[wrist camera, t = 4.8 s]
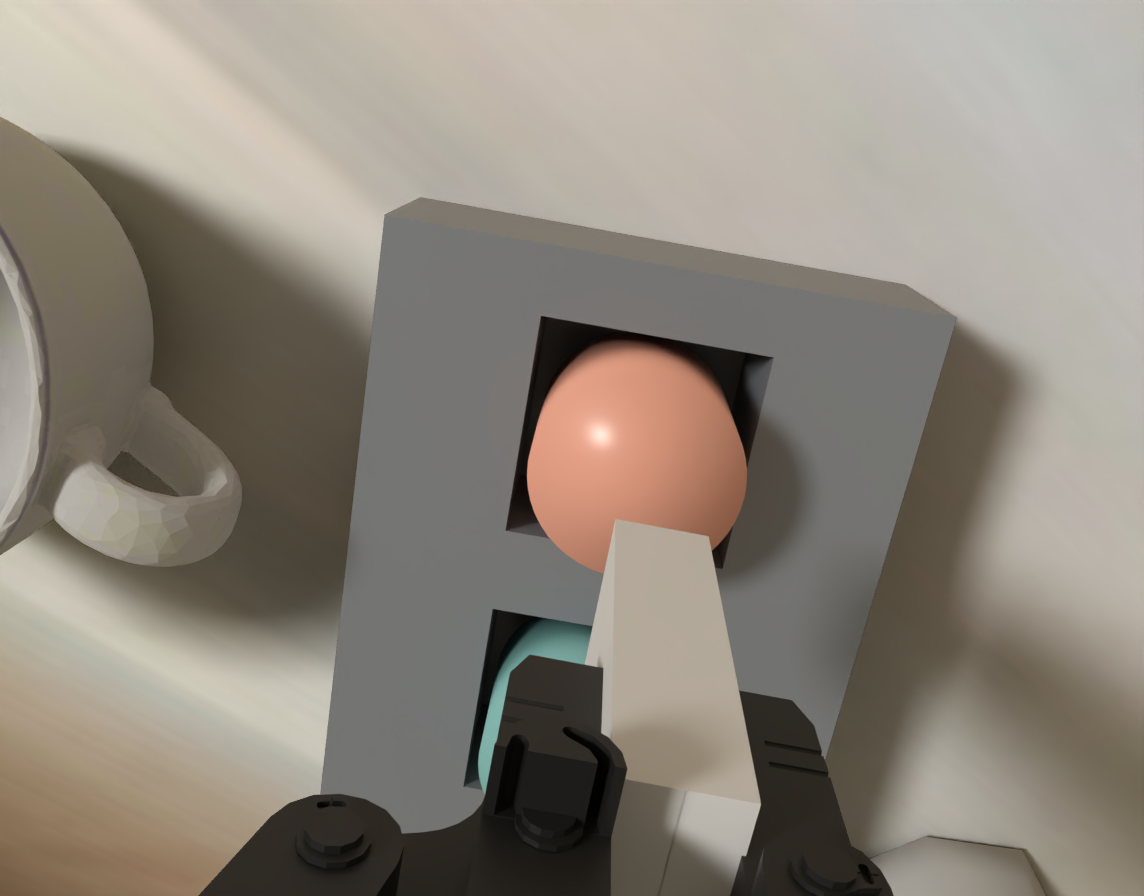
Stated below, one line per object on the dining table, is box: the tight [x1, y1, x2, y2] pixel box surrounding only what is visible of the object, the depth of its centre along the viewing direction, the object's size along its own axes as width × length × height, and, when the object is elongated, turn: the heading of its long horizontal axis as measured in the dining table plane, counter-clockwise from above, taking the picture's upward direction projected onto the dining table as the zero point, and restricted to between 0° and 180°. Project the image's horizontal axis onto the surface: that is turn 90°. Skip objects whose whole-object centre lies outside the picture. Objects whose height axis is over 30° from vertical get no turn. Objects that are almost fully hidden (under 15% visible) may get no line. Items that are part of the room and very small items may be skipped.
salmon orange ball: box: [527, 332, 747, 574], centre depth 22 cm, size 4×4×4 cm
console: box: [320, 197, 957, 834], centre depth 27 cm, size 12×22×4 cm, turn 170°
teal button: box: [478, 616, 593, 794], centre depth 25 cm, size 4×4×4 cm
